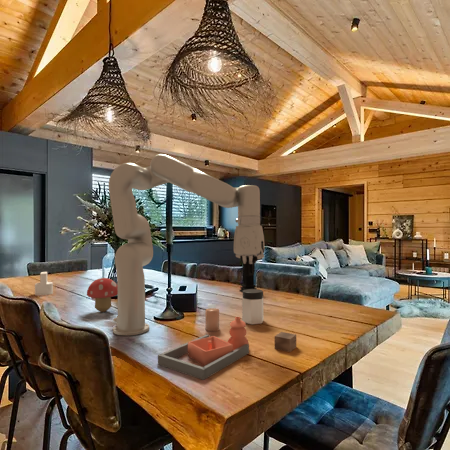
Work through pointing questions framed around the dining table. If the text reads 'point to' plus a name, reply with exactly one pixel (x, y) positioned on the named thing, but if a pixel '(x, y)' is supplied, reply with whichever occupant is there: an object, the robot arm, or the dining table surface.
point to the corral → (193, 370)
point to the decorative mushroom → (102, 293)
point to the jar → (252, 306)
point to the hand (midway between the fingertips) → (249, 275)
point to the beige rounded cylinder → (212, 319)
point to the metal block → (285, 341)
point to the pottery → (218, 344)
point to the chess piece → (247, 281)
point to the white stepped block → (43, 285)
